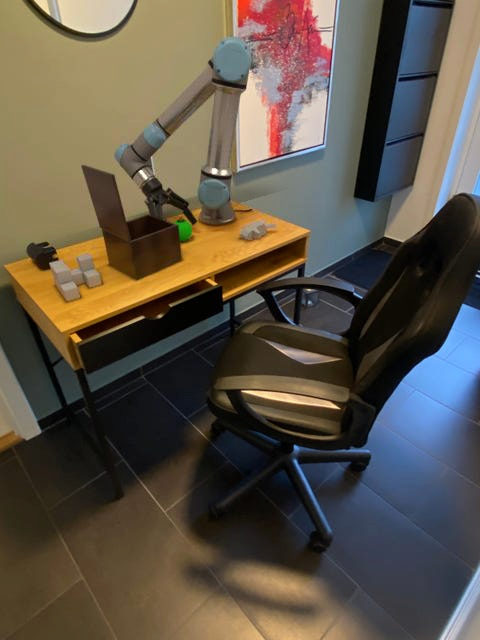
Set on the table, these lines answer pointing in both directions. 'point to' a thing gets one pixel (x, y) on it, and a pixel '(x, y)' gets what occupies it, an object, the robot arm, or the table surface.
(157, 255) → the chest
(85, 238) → the table surface
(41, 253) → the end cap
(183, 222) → the ornament
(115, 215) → the chest lid
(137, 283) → the table surface
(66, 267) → the grey cube cluster
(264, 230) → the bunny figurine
